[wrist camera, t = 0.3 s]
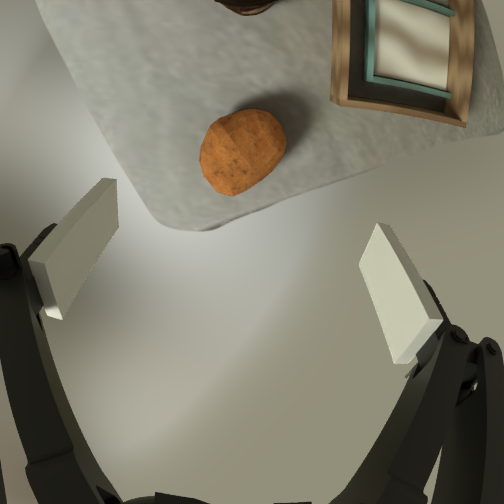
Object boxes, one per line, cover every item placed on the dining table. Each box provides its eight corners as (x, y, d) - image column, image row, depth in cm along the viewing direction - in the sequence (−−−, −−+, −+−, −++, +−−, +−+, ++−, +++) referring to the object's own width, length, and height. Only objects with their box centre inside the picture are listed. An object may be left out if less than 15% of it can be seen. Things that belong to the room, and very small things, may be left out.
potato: (187, 137, 38) (173, 154, 32) (259, 89, 34) (260, 96, 28) (227, 189, 42) (222, 215, 36) (298, 148, 38) (306, 167, 32)
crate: (331, -40, 23) (341, -51, 19) (453, -5, 22) (473, -8, 18) (330, 100, 34) (339, 105, 30) (446, 119, 34) (465, 128, 30)
